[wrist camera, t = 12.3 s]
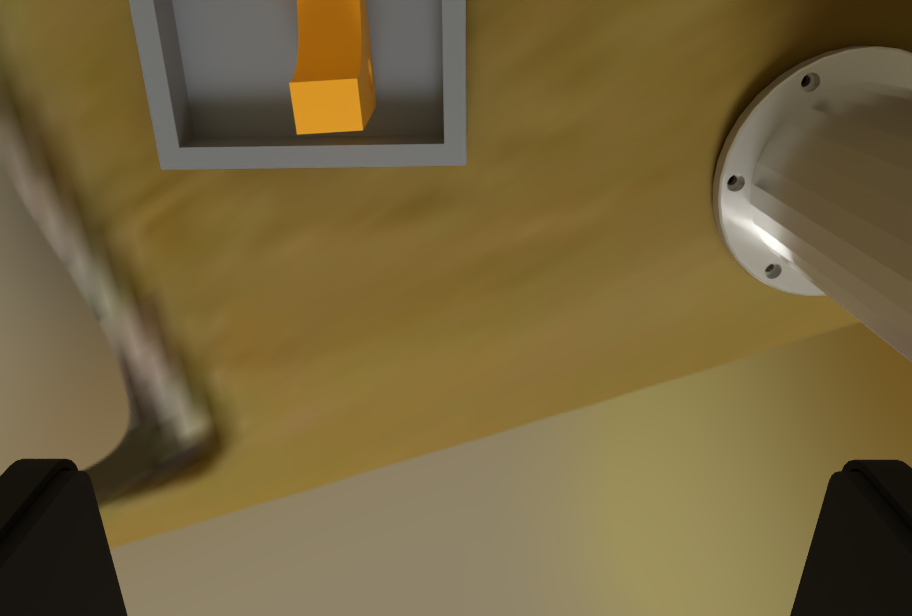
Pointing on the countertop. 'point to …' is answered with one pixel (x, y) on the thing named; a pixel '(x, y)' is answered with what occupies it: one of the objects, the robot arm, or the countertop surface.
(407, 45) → the parts tray
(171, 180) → the countertop surface
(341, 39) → the pipe clamp
